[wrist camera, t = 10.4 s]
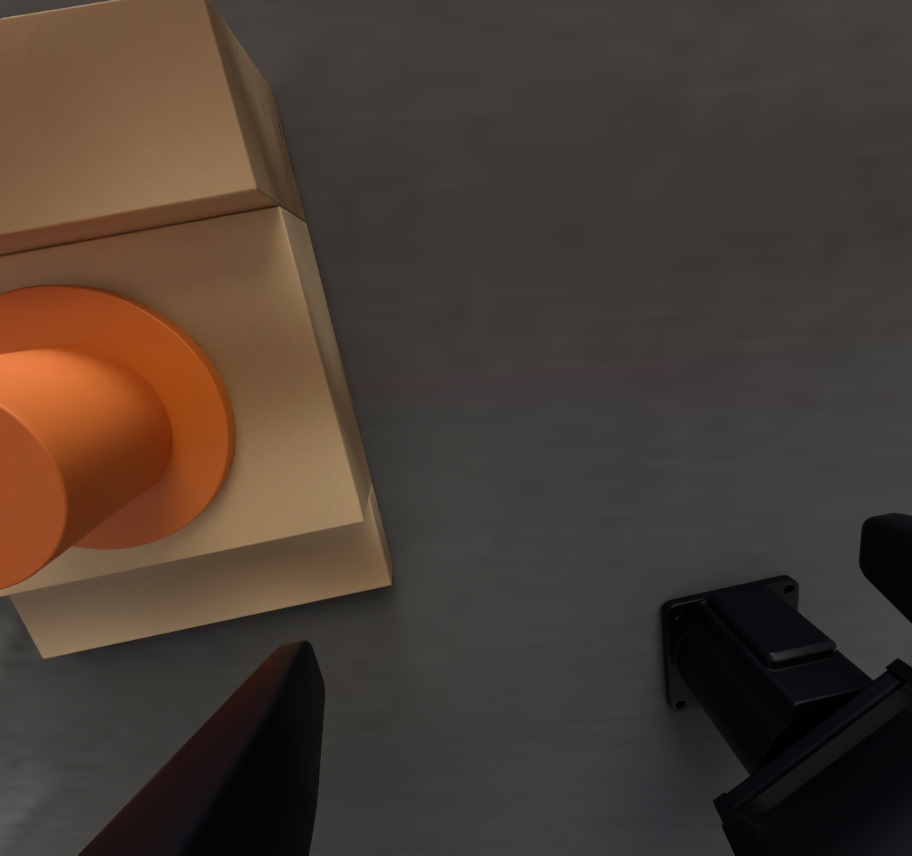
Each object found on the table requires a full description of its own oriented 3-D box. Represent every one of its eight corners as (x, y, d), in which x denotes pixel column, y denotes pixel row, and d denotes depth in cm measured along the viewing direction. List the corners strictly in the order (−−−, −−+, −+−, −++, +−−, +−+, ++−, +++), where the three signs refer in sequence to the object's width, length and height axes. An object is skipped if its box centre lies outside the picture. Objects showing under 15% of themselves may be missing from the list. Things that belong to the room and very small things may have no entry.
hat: (268, 512, 16) (203, 615, 11) (23, 563, 15) (-159, 691, 10) (184, 260, 13) (52, 243, 8) (-108, 313, 13) (-423, 328, 8)
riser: (393, 565, 20) (387, 660, 15) (68, 633, 20) (-54, 756, 15) (273, 90, 15) (200, -16, 10) (-173, 166, 15) (-499, 97, 9)
